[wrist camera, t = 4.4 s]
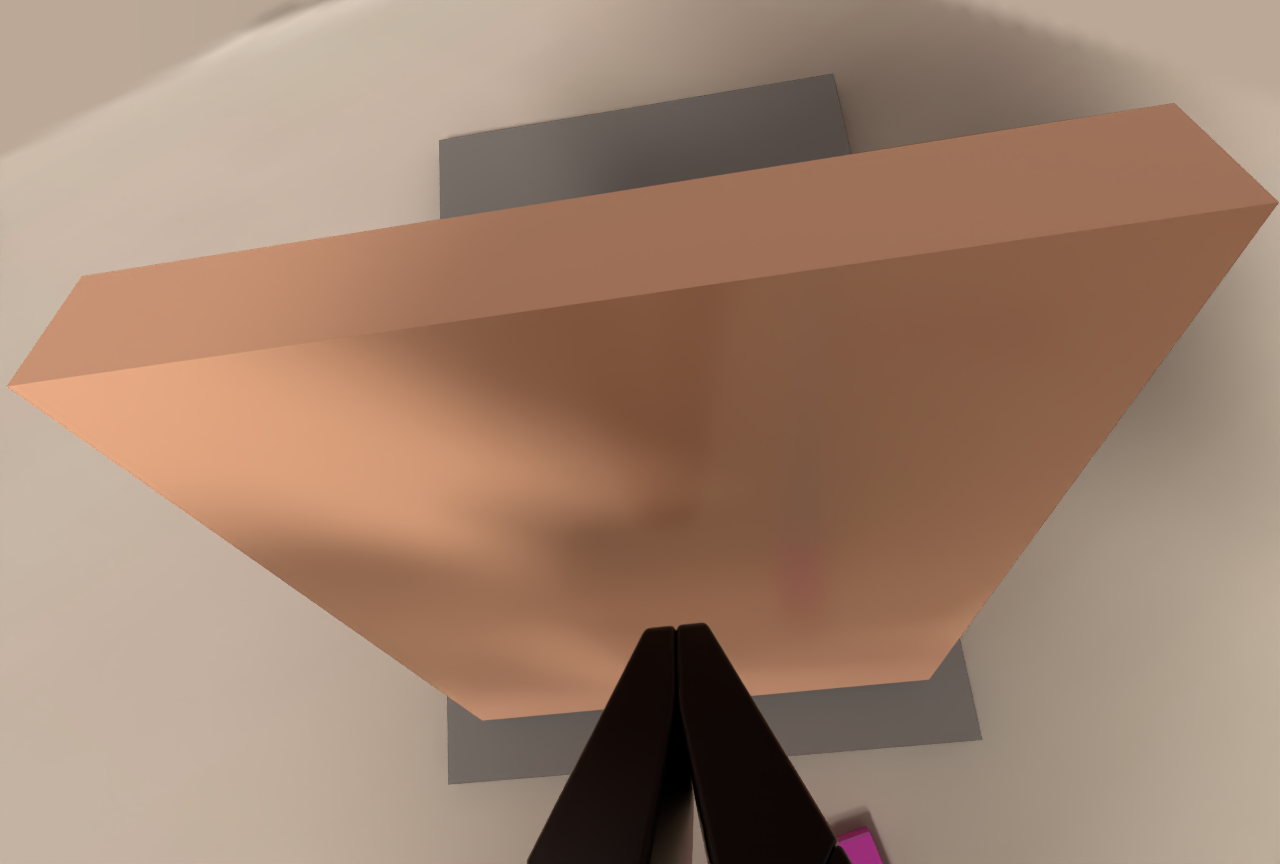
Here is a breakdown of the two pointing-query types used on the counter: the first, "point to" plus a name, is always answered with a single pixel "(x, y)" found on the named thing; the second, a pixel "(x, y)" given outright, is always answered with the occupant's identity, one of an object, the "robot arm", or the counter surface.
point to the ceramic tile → (668, 400)
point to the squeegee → (860, 847)
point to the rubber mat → (647, 156)
